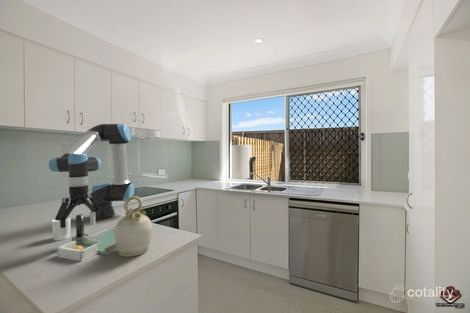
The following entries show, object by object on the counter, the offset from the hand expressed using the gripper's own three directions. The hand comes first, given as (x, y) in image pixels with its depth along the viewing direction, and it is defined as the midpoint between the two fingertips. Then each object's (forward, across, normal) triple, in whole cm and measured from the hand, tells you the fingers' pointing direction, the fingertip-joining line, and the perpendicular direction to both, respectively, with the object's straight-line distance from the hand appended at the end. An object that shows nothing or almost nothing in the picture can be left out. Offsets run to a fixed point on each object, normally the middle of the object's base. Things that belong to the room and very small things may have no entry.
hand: (79, 229), depth 103 cm
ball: (+6, +8, +9) cm, 13 cm away
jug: (+8, -2, +30) cm, 31 cm away
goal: (+8, +8, +9) cm, 14 cm away
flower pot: (+8, -29, +7) cm, 31 cm away
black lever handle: (+6, 0, +5) cm, 7 cm away
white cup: (+8, -4, -18) cm, 20 cm away
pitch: (+8, -7, +9) cm, 14 cm away
